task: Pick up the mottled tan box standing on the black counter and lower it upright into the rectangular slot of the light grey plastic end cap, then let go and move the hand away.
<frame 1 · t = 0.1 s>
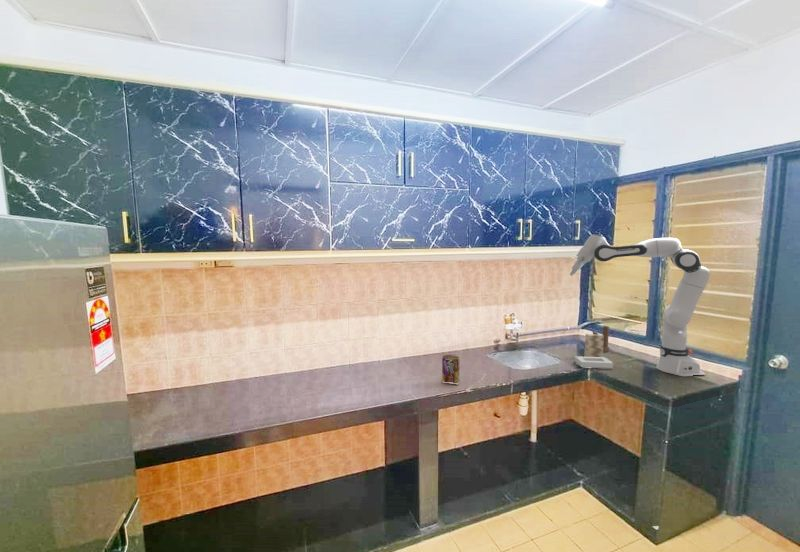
hand: (571, 274, 224), 54 cm above the counter, tool tilted 30°, fingers open, 8 cm apart
end cap: (593, 365, 206), on the counter
candy box: (450, 383, 182), on the counter
mottled tan box: (593, 358, 218), on the counter
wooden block: (600, 352, 231), on the counter
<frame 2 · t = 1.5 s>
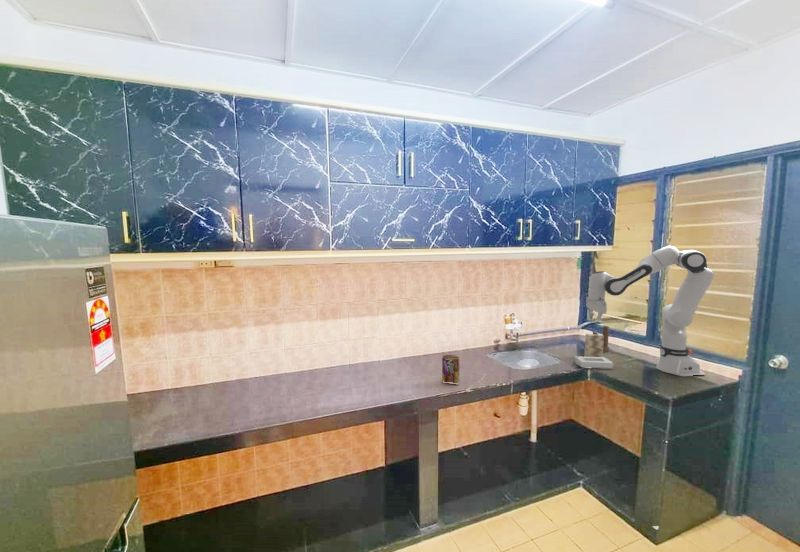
hand: (595, 317, 215), 27 cm above the counter, tool pointing down, fingers open, 8 cm apart
nothing on the counter moved.
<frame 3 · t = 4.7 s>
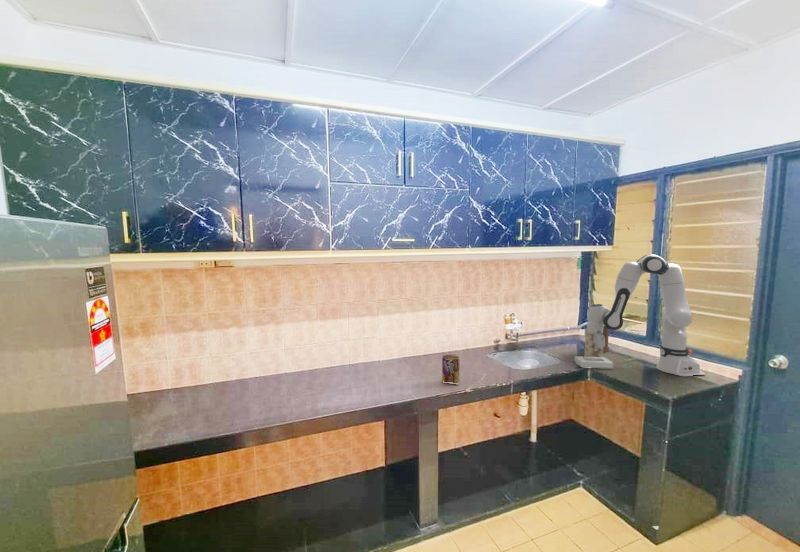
hand: (593, 349, 217), 6 cm above the counter, tool pointing down, fingers closed on mottled tan box, 3 cm apart
mottled tan box: (593, 358, 218), on the counter, touching gripper
everything else where it was.
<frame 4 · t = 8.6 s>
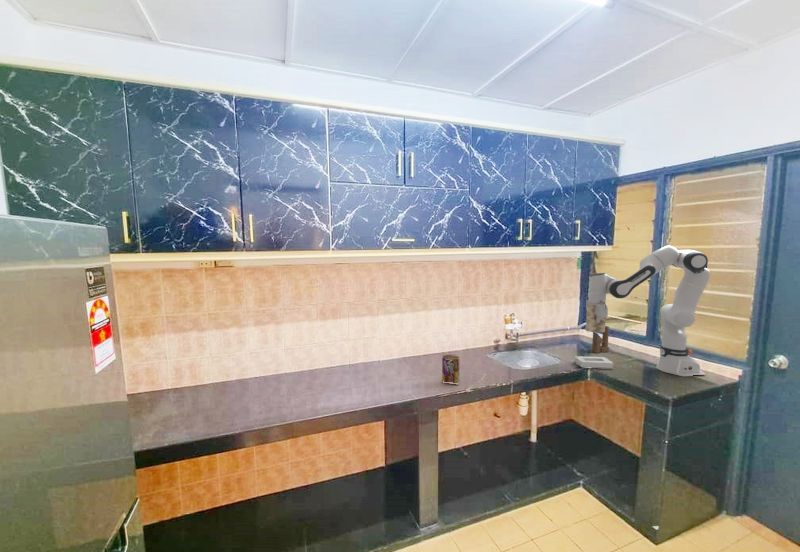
hand: (595, 321, 205), 27 cm above the counter, tool pointing down, fingers closed on mottled tan box, 3 cm apart
mottled tan box: (594, 331, 206), point 21 cm above the counter, touching gripper
everything else where it was.
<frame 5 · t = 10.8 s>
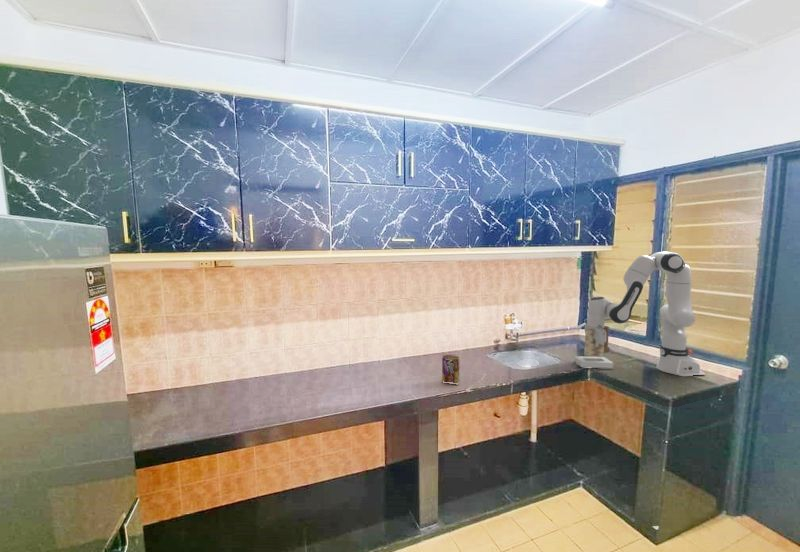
hand: (594, 345, 204), 13 cm above the counter, tool pointing down, fingers closed on mottled tan box, 3 cm apart
mottled tan box: (593, 354, 205), point 7 cm above the counter, touching gripper
everything else where it was.
when the fingers open (8 cm above the counter, at t = 12.5 s): mottled tan box stays where it is, resting on end cap.
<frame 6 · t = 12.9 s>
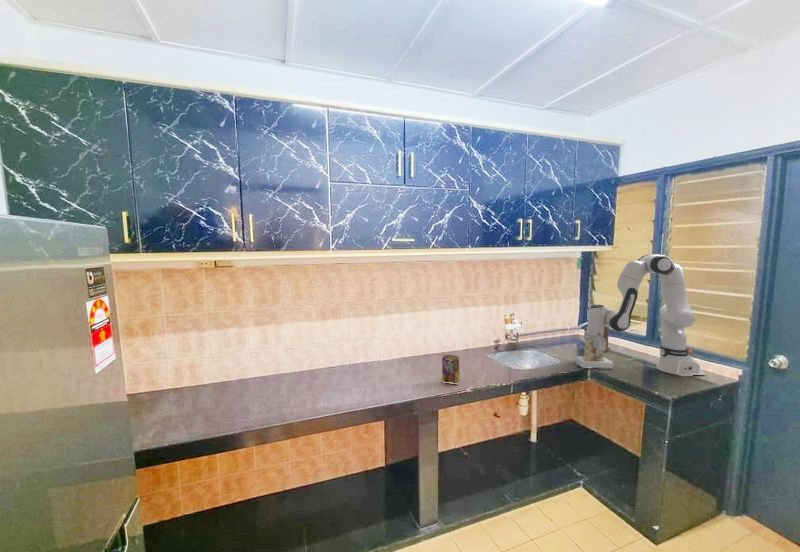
hand: (594, 353, 205), 8 cm above the counter, tool pointing down, fingers open, 7 cm apart
mottled tan box: (593, 364, 206), point 1 cm above the counter, touching end cap
everything else where it was.
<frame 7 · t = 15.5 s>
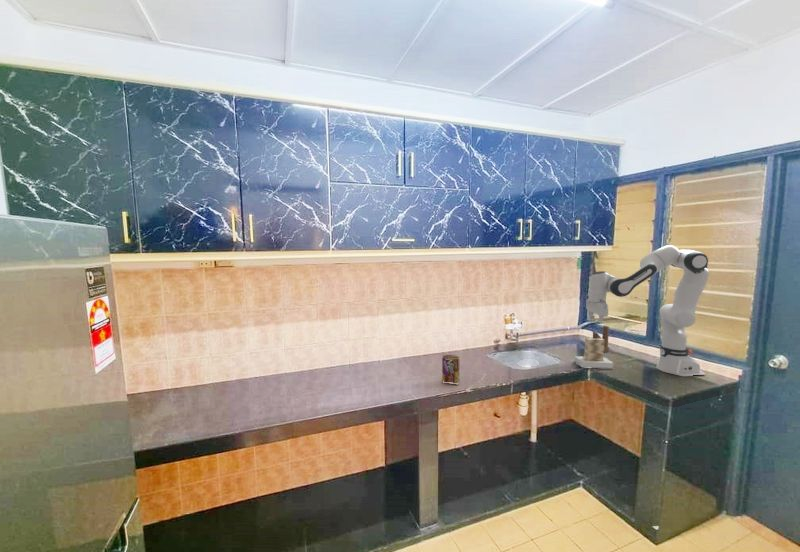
hand: (596, 320, 202), 29 cm above the counter, tool pointing down, fingers open, 8 cm apart
nothing on the counter moved.
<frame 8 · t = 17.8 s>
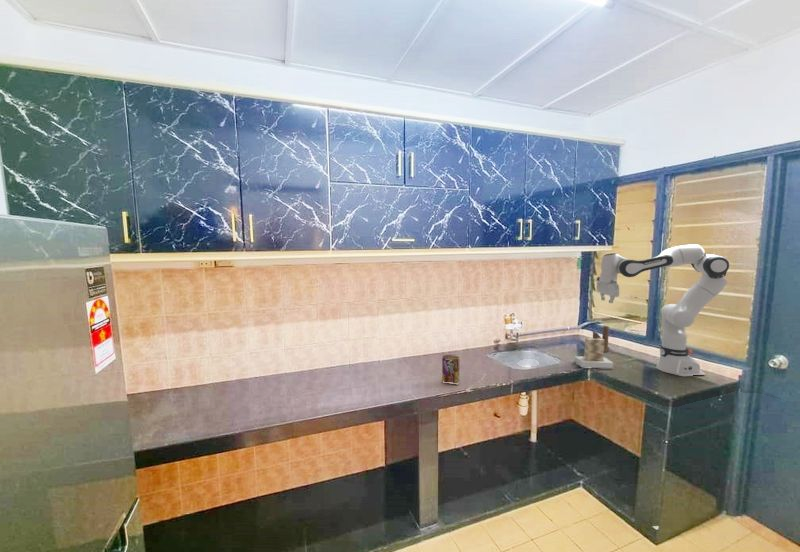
hand: (606, 301, 207), 39 cm above the counter, tool pointing down, fingers open, 8 cm apart
nothing on the counter moved.
at the end: mottled tan box 0.0 cm off-centre on the end cap, point 1.0 cm above the end cap's base; mottled tan box tilted 0°; the gripper is holding nothing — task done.
